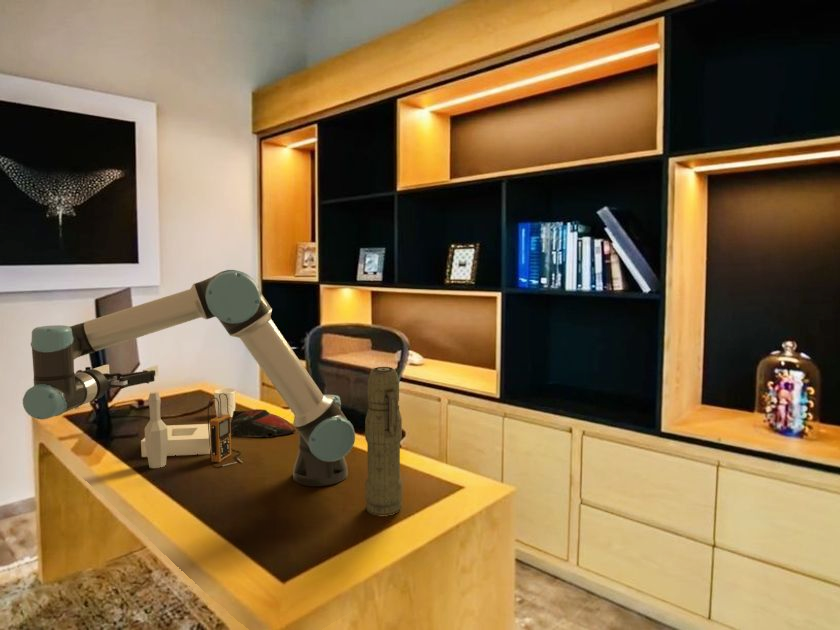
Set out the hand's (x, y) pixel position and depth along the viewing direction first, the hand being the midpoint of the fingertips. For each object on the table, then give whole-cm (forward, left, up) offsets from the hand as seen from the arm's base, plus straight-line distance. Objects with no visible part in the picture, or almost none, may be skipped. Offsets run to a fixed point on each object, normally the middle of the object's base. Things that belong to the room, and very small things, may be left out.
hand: (132, 369), depth 155 cm
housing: (+26, -5, -31) cm, 40 cm away
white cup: (+61, -12, -31) cm, 69 cm away
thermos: (-28, -66, -31) cm, 79 cm away
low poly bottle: (+10, -2, -31) cm, 32 cm away
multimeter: (+12, -23, -31) cm, 41 cm away
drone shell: (+39, -28, -31) cm, 58 cm away
